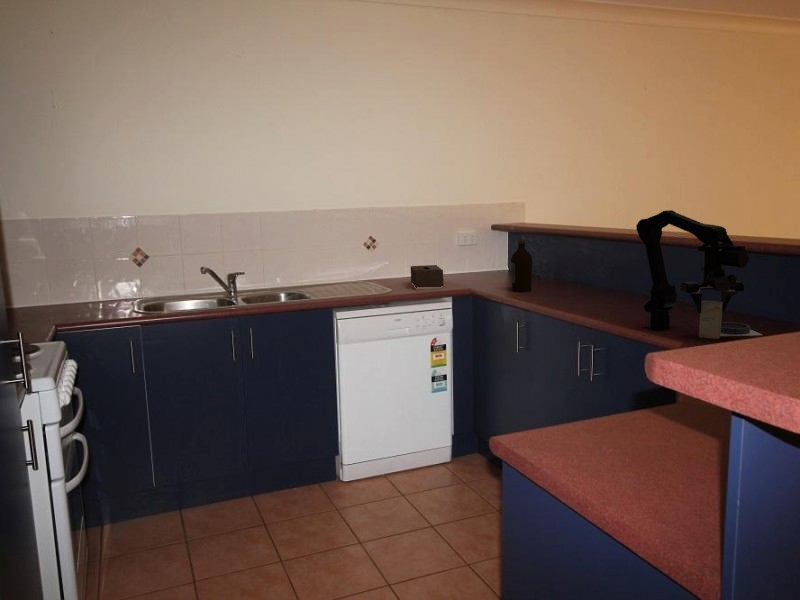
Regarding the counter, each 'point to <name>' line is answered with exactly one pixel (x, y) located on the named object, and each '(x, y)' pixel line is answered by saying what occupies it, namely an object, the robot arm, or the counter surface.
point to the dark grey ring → (734, 328)
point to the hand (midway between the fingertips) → (711, 312)
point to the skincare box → (710, 319)
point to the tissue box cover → (427, 276)
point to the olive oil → (521, 269)
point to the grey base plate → (742, 334)
